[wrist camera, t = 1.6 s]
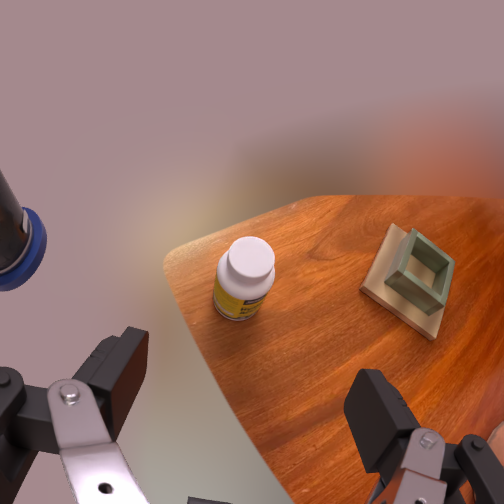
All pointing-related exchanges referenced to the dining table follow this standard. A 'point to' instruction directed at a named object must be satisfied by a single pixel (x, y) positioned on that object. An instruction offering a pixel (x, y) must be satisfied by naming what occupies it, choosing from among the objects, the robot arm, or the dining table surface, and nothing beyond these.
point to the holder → (411, 279)
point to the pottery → (497, 443)
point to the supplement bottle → (243, 278)
